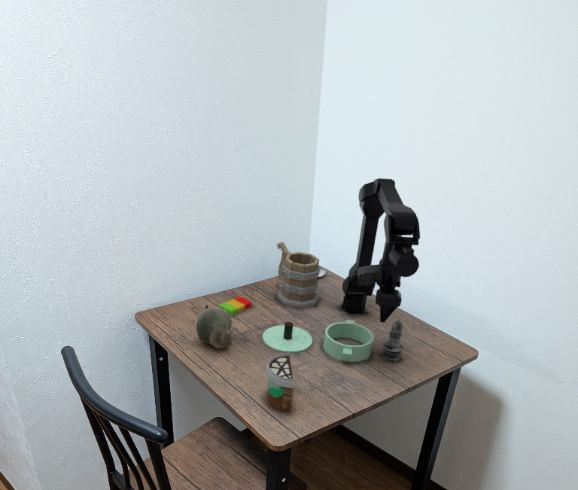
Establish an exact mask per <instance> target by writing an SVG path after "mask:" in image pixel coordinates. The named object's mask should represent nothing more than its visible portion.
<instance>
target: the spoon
mask: <svg viewBox="0 0 578 490" xmlns="http://www.w3.org/2000/svg"><path fill="white" fill-rule="evenodd" d="M324 275H326V270H325V269H320V273H319V275H318V277H317V278H321V277H324ZM278 287H279V288H282V287H281V286H280V284H279V285H278Z"/></svg>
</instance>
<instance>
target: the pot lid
mask: <svg viewBox="0 0 578 490" xmlns="http://www.w3.org/2000/svg"><path fill="white" fill-rule="evenodd" d="M262 342H263V343H264V344H265V345H266V346H267V347H268V348H270V349H272V350H273V351H277V352H281V353H290V354H291V353H293V354H294V353H301V352H304V351H306V350H309V348H311V346H312V345H313V337H312V335H311V334H310V333H309V332H308V331H307V330H305V329H303V328H301V327H298V326H294V322H292V321H285V322H284V325H283V324H281V325H275V326H271V327H269V328H267V329H265V330H264V331H263V333H262Z"/></svg>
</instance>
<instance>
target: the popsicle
mask: <svg viewBox="0 0 578 490" xmlns="http://www.w3.org/2000/svg"><path fill="white" fill-rule="evenodd" d="M251 307H252V301H251V300H250V299H248V298H246V297H243V296H237V297H234V298H233V299H230V300H228V301H225V302H222V303H221V304H219V308H221V309H223V310H225V311H226V312H227V313H228V314H229V315H230V316H233V315H235V314H237V313H239V312H241V311H244V310H246V309H248V308H251Z"/></svg>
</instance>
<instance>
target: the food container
mask: <svg viewBox="0 0 578 490" xmlns="http://www.w3.org/2000/svg"><path fill="white" fill-rule="evenodd" d="M265 376H266V377H267V401H268V403H269V404H270V406H271V407H273V408H274V409H276V410H278V411H281V412H287V413H288V412H289V413H290V412H291V408H292V400H293V395H294V394H293V393H294V389H295V379H294V378H293V369H292V363H291V353H287V352H281V353H279V354H275V355H274V356H272V357H271V358H270V359H269V360H268V362H267V364H266V368H265Z"/></svg>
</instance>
